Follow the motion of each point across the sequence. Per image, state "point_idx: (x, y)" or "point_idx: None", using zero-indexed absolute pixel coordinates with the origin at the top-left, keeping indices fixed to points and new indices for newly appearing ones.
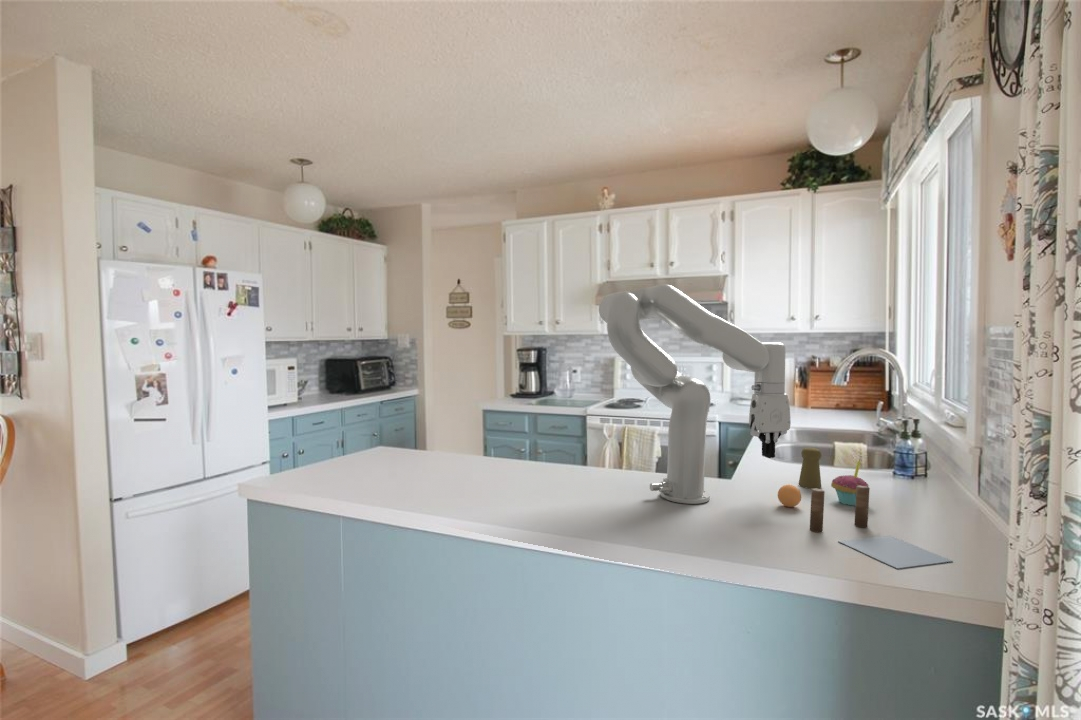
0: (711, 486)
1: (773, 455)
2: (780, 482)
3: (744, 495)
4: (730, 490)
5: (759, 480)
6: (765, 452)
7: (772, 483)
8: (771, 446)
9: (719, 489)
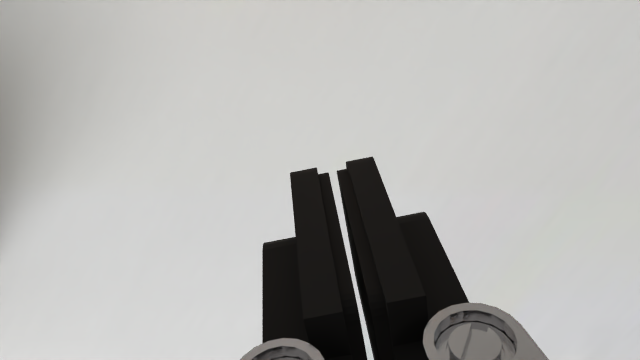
0: (548, 251)
1: (314, 180)
2: (84, 319)
3: (466, 74)
4: (488, 179)
5: (198, 349)
6: (428, 226)
7: (144, 303)
8: (380, 259)
9: (542, 198)
